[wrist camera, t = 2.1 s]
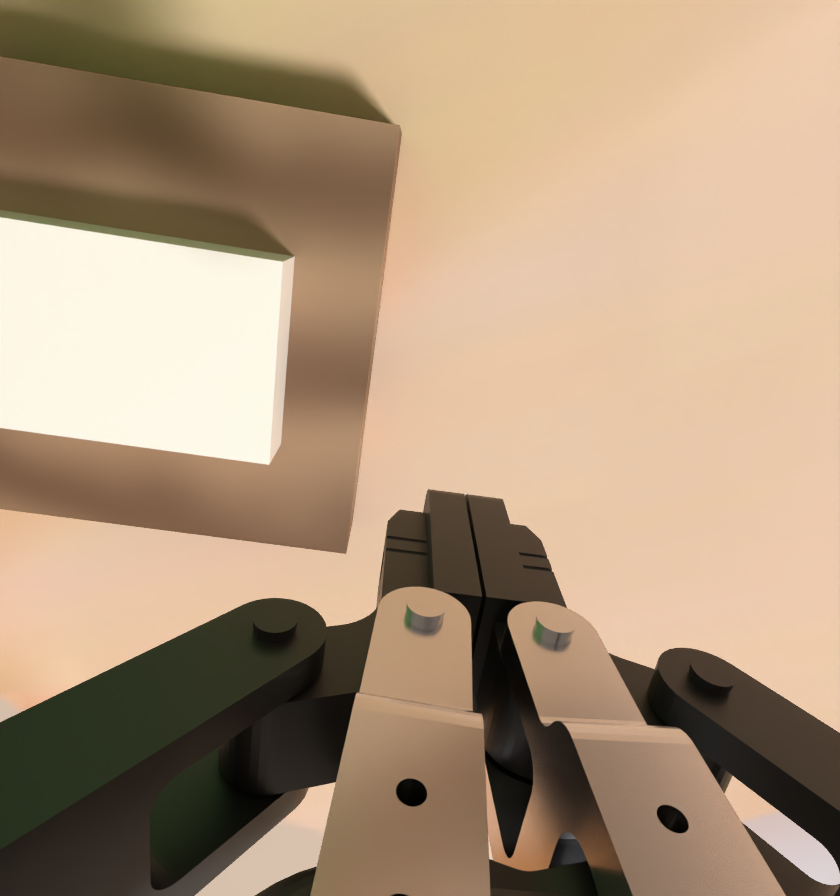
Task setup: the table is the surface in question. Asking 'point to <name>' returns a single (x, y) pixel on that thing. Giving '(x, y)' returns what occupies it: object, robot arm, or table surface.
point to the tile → (142, 338)
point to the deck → (226, 223)
